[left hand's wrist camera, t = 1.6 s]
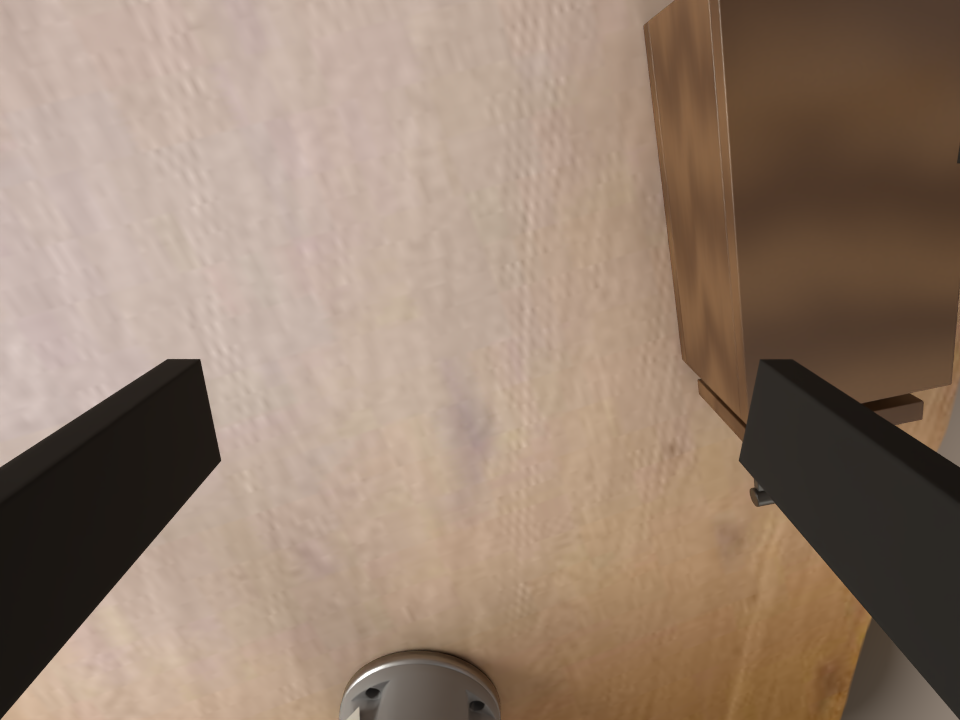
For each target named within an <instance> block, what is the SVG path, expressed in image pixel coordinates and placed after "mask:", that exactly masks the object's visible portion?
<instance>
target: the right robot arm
mask: <svg viewBox="0 0 960 720" xmlns="http://www.w3.org/2000/svg"><path fill="white" fill-rule="evenodd" d="M957 163H958V164H960V145H959V152H958V159H957Z"/></svg>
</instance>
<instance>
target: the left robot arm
mask: <svg viewBox="0 0 960 720" xmlns="http://www.w3.org/2000/svg"><path fill="white" fill-rule="evenodd" d="M220 461H221V458H220V453H219V448H218V443H217V438H216V433H215V429H214V424H213V419H212V414H211V409H210V404H209V400H208V395H207V390H206V385H205V380H204V375H203V370H202V366H201V361H200V359H167V360H166V361H164V362H162V363H161V364H159V365H158V366H156V367H155V368H153V369H152V370H150V371H149V372H147V373H145V374H144V375H142V376H141V377H139V378H138V379H136V380H135V381H133V382H132V383H130V384H128V385H127V386H125V387H124V388H122V389H121V390H119V391H118V392H116V393H115V394H113V395H111V396H110V397H108V398H107V399H105V400H104V401H102V402H101V403H99V404H98V405H96V406H94V407H93V408H91V409H90V410H88V411H87V412H85V413H84V414H82V415H81V416H79V417H77V418H76V419H74V420H73V421H71V422H70V423H68V424H67V425H65V426H64V427H62V428H60V429H59V430H57V431H56V432H54V433H53V434H51V435H50V436H48V437H47V438H45V439H43V440H42V441H40V442H39V443H37V444H36V445H34V446H33V447H31V448H30V449H28V450H26V451H25V452H23V453H22V454H20V455H19V456H17V457H16V458H14V459H13V460H11V461H9V462H8V463H6V464H5V465H3V466H2V467H0V720H1V718H2V717H3V716H4V715H5V714H6V712H7V711H8V710H9V709H10V708H11V707H12V705H13V704H14V703H15V702H16V701H17V700H18V698H19V697H20V696H21V695H22V694H23V693H24V691H25V690H26V689H27V688H28V687H29V685H30V684H31V683H32V682H33V681H34V680H35V678H36V677H37V676H38V675H39V674H40V673H41V671H42V670H43V669H44V668H45V667H46V666H47V664H48V663H49V662H50V661H51V660H52V659H53V657H54V656H55V655H56V654H57V653H58V651H59V650H60V649H61V648H62V647H63V646H64V644H65V643H66V642H67V641H68V640H69V639H70V637H71V636H72V635H73V634H74V633H75V632H76V630H77V629H78V628H79V627H80V626H81V624H82V623H83V622H84V621H85V620H86V619H87V617H88V616H89V615H90V614H91V613H92V612H93V610H94V609H95V608H96V607H97V606H98V605H99V603H100V602H101V601H102V600H103V599H104V598H105V596H106V595H107V594H108V593H109V592H110V590H111V589H112V588H113V587H114V586H115V585H116V583H117V582H118V581H119V580H120V579H121V578H122V576H123V575H124V574H125V573H126V572H127V571H128V569H129V568H130V567H131V566H132V565H133V563H134V562H135V561H136V560H137V559H138V558H139V556H140V555H141V554H142V553H143V552H144V551H145V549H146V548H147V547H148V546H149V545H150V544H151V542H152V541H153V540H154V539H155V538H156V537H157V535H158V534H159V533H160V532H161V531H162V529H163V528H164V527H165V526H166V525H167V524H168V522H169V521H170V520H171V519H172V518H173V517H174V515H175V514H176V513H177V512H178V511H179V510H180V508H181V507H182V506H183V505H184V504H185V502H186V501H187V500H188V499H189V498H190V497H191V495H192V494H193V493H194V492H195V491H196V490H197V488H198V487H199V486H200V485H201V484H202V483H203V481H204V480H205V479H206V478H207V477H208V476H209V474H210V473H211V472H212V471H213V470H214V468H215V467H216V466H217V465H218V464H219V463H220ZM739 461H740V463H741V464H742V465H743V466H744V467H745V468H746V470H747V471H748V472H749V473H750V474H751V476H752V477H753V478H754V479H755V480H756V481H757V483H758V484H759V485H760V486H761V487H762V488H763V490H764V491H765V492H766V493H767V494H768V495H769V497H770V498H771V499H772V500H773V501H774V502H775V504H776V505H777V506H778V507H779V508H780V510H781V511H782V512H783V513H784V514H785V515H786V517H787V518H788V519H789V520H790V521H791V522H792V524H793V525H794V526H795V527H796V528H797V529H798V531H799V532H800V533H801V534H802V535H803V537H804V538H805V539H806V540H807V541H808V542H809V544H810V545H811V546H812V547H813V548H814V549H815V551H816V552H817V553H818V554H819V555H820V556H821V558H822V559H823V560H824V561H825V562H826V563H827V565H828V566H829V567H830V568H831V569H832V571H833V572H834V573H835V574H836V575H837V576H838V578H839V579H840V580H841V581H842V582H843V583H844V585H845V586H846V587H847V588H848V589H849V590H850V592H851V593H852V594H853V595H854V596H855V598H856V599H857V600H858V601H859V602H860V603H861V605H862V606H863V607H864V608H865V609H866V610H867V612H868V613H869V614H870V615H871V616H872V617H873V619H874V620H875V621H876V622H877V623H878V624H879V626H880V627H881V628H882V629H883V630H884V631H885V633H886V634H887V635H888V636H889V637H890V639H891V640H892V641H893V642H894V643H895V644H896V646H897V647H898V648H899V649H900V650H901V651H902V653H903V654H904V655H905V656H906V657H907V658H908V660H909V661H910V662H911V663H912V664H913V666H914V667H915V668H916V669H917V670H918V671H919V673H920V674H921V675H922V676H923V677H924V678H925V680H926V681H927V682H928V683H929V684H930V685H931V687H932V688H933V689H934V690H935V691H936V693H937V694H938V695H939V696H940V697H941V698H942V700H943V701H944V702H945V703H946V704H947V705H948V707H949V708H950V709H951V710H952V711H953V712H954V714H955V715H956V716H957V717H958V718H959V719H960V467H958V466H957V465H955V464H954V463H952V462H951V461H949V460H947V459H946V458H944V457H943V456H941V455H940V454H938V453H937V452H935V451H934V450H932V449H930V448H929V447H927V446H926V445H924V444H923V443H921V442H920V441H918V440H917V439H915V438H913V437H912V436H910V435H909V434H907V433H906V432H904V431H903V430H901V429H900V428H898V427H896V426H895V425H893V424H892V423H890V422H889V421H887V420H886V419H884V418H883V417H881V416H879V415H878V414H876V413H875V412H873V411H872V410H870V409H869V408H867V407H866V406H864V405H862V404H861V403H859V402H858V401H856V400H855V399H853V398H852V397H850V396H849V395H847V394H845V393H844V392H842V391H841V390H839V389H838V388H836V387H835V386H833V385H832V384H830V383H828V382H827V381H825V380H824V379H822V378H821V377H819V376H818V375H816V374H815V373H813V372H811V371H810V370H808V369H807V368H805V367H804V366H802V365H801V364H799V363H798V362H796V361H794V360H793V359H760V361H759V366H758V370H757V375H756V380H755V385H754V390H753V395H752V400H751V404H750V409H749V414H748V419H747V424H746V429H745V433H744V438H743V443H742V448H741V453H740V458H739ZM339 720H501V717H500V701H499V696H498V694H497V691H496V689H495V687H494V685H493V684H492V682H491V681H490V680H489V679H488V678H487V676H486V675H485V674H483V673H482V672H481V671H480V670H479V669H477V668H476V667H474V666H473V665H471V664H470V663H468V662H466V661H464V660H462V659H459V658H457V657H454V656H451V655H447V654H443V653H438V652H432V651H405V652H398V653H393V654H390V655H386V656H383V657H381V658H378V659H376V660H374V661H372V662H370V663H368V664H367V665H365V666H364V667H362V668H361V669H360V670H359V671H358V672H356V673H355V675H354V676H353V677H352V678H351V680H350V681H349V683H348V684H347V686H346V689H345V692H344V695H343V699H342V703H341V707H340V715H339Z"/></svg>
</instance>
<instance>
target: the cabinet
mask: <svg viewBox="0 0 960 720" xmlns="http://www.w3.org/2000/svg"><path fill="white" fill-rule="evenodd" d="M644 34H645V43H646V51H647V60H648V69H649V77H650V86H651V94H652V103H653V112H654V120H655V129H656V137H657V146H658V154H659V163H660V172H661V180H662V189H663V197H664V206H665V215H666V223H667V232H668V240H669V249H670V258H671V266H672V275H673V283H674V292H675V300H676V309H677V318H678V326H679V335H680V343H681V352H682V359H683V361H684V362H685V363H686V364H687V365H688V366H689V367H690V368H691V369H692V370H693V371H694V372H695V373H696V374H697V375H698V376H699V377H700V378H701V379H702V380H703V381H704V382H705V383H706V384H707V385H708V386H709V387H710V388H711V389H712V390H713V391H714V392H715V393H716V394H717V395H718V396H719V397H720V398H721V399H722V400H723V401H724V402H725V403H726V404H727V405H728V406H729V407H730V408H731V409H732V411H733V412H734V413H735V414H736V415H737V416H738V417H739V418H741V419H742V420H743V421H744V422H745V423H746V424H747V419H748V414H749V409H750V404H751V400H752V395H753V390H754V385H755V380H756V375H757V370H758V366H759V361H760V359H793V360H794V361H796V362H798V363H799V364H801V365H802V366H804V367H805V368H807V369H808V370H810V371H811V372H813V373H815V374H816V375H818V376H819V377H821V378H822V379H824V380H825V381H827V382H828V383H830V384H832V385H833V386H835V387H836V388H838V389H839V390H841V391H842V392H844V393H845V394H847V395H849V396H850V397H852V398H853V399H855V400H856V401H858V402H859V403H865V402H870V401H875V400H879V399H884V398H889V397H894V396H899V395H903V394H908V393H913V392H918V391H922V390H927V389H932V388H937V387H941V386H946V385H950V384H951V382H952V370H953V358H954V347H955V335H956V324H957V312H958V300H959V289H960V164H958V163H957V159H958V152H959V145H960V0H675V1H673V2H672V3H671V4H670V5H668V6H667V7H666V8H665V9H663V10H662V11H661V12H660V13H658V14H657V15H656V16H655V17H653V18H652V19H651V20H649V21H648V22H647V23H646V24H645V25H644Z"/></svg>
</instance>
